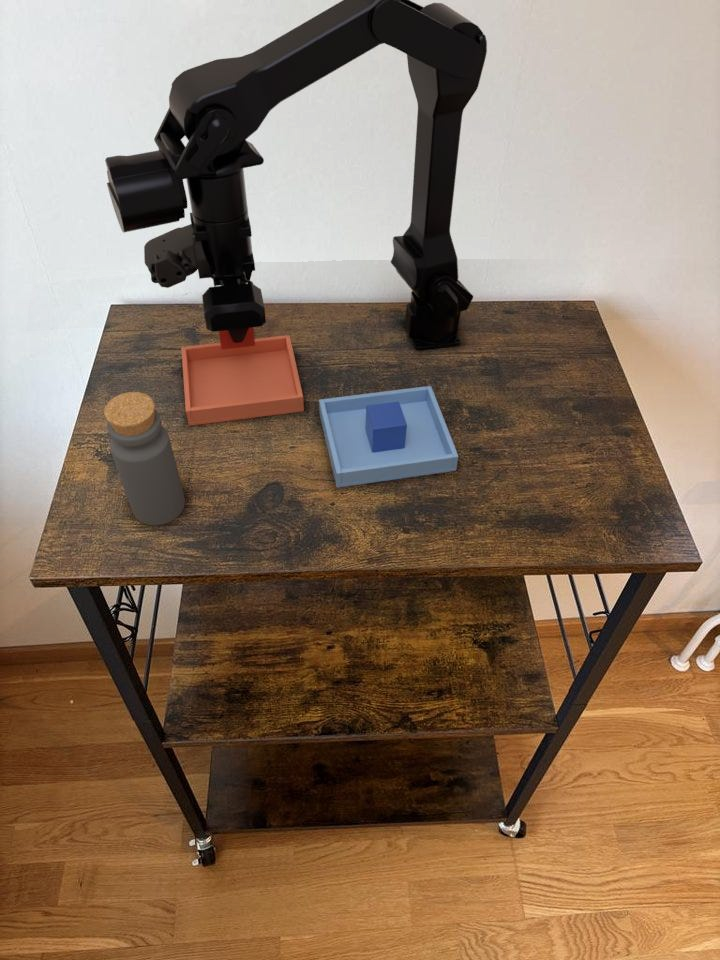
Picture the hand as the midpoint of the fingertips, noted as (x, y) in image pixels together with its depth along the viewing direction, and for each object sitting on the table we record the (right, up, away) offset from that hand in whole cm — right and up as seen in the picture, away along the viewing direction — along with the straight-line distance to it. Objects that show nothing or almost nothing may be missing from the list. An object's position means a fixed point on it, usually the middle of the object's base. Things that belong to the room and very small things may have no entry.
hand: (236, 330), depth 87 cm
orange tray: (0, -6, +7) cm, 9 cm away
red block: (0, -1, +1) cm, 1 cm away
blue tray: (+18, -13, +1) cm, 22 cm away
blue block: (+18, -13, +1) cm, 22 cm away
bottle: (-8, -21, -6) cm, 23 cm away
